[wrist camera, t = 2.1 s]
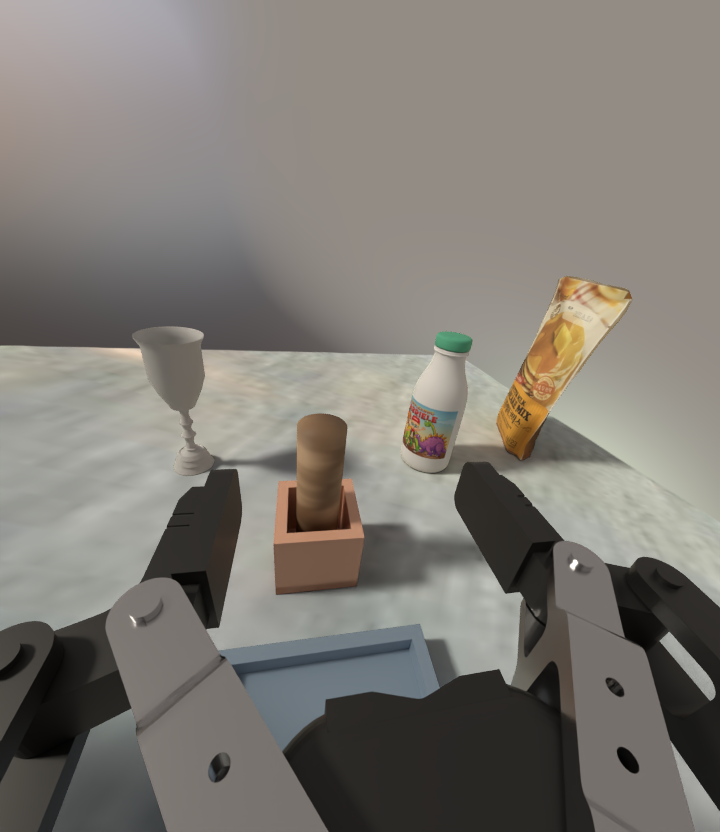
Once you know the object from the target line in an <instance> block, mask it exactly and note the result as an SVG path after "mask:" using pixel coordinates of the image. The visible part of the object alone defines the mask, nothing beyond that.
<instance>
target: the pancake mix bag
mask: <svg viewBox="0 0 720 832" xmlns="http://www.w3.org/2000/svg"><path fill="white" fill-rule="evenodd" d="M631 301H632V298H631V295H630V292H629V290H627V289H625V288H622V287H616V286H611V285H605V284H601V283H598V282H596V281H592V280H588V279H583V278H578V277H570V276H566V277H564V278H561V279H559V280H558V285H557V288H556V291H555V294H554V296H553V299H552V301H551V303H550V305H549V308H548V310H547V312H546V314H545V317H544V319H543V321H542V324H541V326H540V328H539V330H538V332H537V335H536V337H535V340H534V342H533V343H532V345H531V347H530V349H529V351H528V353H527V356H526V359H525V360H524V362H523V364H522V366H521V368H520V371H519V373H518V375H517V377H516V379H515V381H514V383H513V385H512V387H511V389H510V391H509V393H508V395H507V397H506V399H505V401H504V404H503V405H502V407H501V409H500V411H499V414H498V417H497V426H498V429H499V432H500V434H501V437H502V440H503V443H504V446H505V448H506V450H507V452H509V453H512V454H514V455H516V456H517V457H518V458H519V459H520V460H524V459H526V458H528V457H530V455H531V452H532V450H533V448H534V445H535V441H536V439H537V437H538V435H539V432H540V430H541V427H542V426H543V424H544V422H545V420H546V418H547V416H548V414H549V412H550V410H551V409H552V408H553V406H554V405H555V403H556V402H557V400H558V399H559V398H560V396H561V395H562V393H563V392H564V391H565V389H566V388H567V387H568V385H569V384H570V382H571V380H572V379H573V378H574V377H575V376H576V375H577V373H578V372H579V371H580V370H581V368H582V367H583V366H584V364H585V362H586V361H587V360H588V358H589V357H590V356H591V354H592V353H593V352H594V350H595V349H596V348H597V346H598V345H599V344H600V342H601V341H602V340H603V339H604V338H605V337H606V335H607V334H608V333H609V332H610V331H611V330H612V329H613V328H614V326H615V325H616V324H617V323H618V322H619V321H620V319H621V318H622V317H623V315H624V314H625V312H626V311H627V309H628V307H629V305H630V303H631Z"/></svg>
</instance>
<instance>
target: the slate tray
mask: <svg viewBox="0 0 720 832" xmlns="http://www.w3.org/2000/svg"><path fill="white" fill-rule="evenodd" d="M218 652H219V653H220V654H221V656H225V657H226V658H227V660H228V661H229V662H230V664H231V665H232V667H233V669H234V670H235V672H236V674H237V675H238V677H239V679H240V681H241V682H242V684H243V686H244V688H245V689H246V691H247V693H248V694H249V696H250V698H251V700H252V701H253V703H254V705H255V706H256V708H257V710H258V712H259V713H260V715H261V717H262V718H263V720H264V722H265V724H266V725H267V727H268V729H269V730H270V732H271V734H272V736H273V737H274V739H275V741H276V742H277V744H278V746H279V748H280V749H281V751H283V750H284V748H285V747H286V746H287V745H288V743H289V742H290V741H291V740H292V739H293V738H294V737H295V736H296V735H297V734H298V733H299V732H300V731H301V730H302V729H303V728H304V727H305V726H307V725H308V724H309V723H310V722H312V721H313V720H315V719H316V718H318V717H320V716H322V715H323V714H324V712H325V701H326V699H331V698H337V697H343V696H348V695H354V694H360V693H366V692H371V691H373V692H379V693H385V694H391V695H397V696H404V697H410V698H416V699H421V698H424V697H426V696H428V695H429V694H431V693H433V692H434V691H436V690H438V689H439V688H440V687H439V684H438V681H437V677H436V674H435V671H434V668H433V664H432V661H431V658H430V655H429V652H428V648H427V645H426V642H425V639H424V636H423V632H422V629H421V626H420V624H416V625H408V626H401V627H393V628H385V629H378V630H370V631H363V632H355V633H348V634H340V635H333V636H325V637H318V638H310V639H303V640H295V641H287V642H280V643H272V644H265V645H257V646H250V647H242V648H235V649H227V650H220V651H218Z"/></svg>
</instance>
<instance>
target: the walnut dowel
mask: <svg viewBox="0 0 720 832" xmlns="http://www.w3.org/2000/svg"><path fill="white" fill-rule="evenodd" d="M346 436H347V424H346V423H345V421H343V420H342V419H341V418H339V417H336V416H334V415H330V414H312V415H308V416H305V417H303V418H302V419H301V420H300V421H299V422H298V424H297V505H296V533H298V532H313V531H329V530H337V525H338V515H339V505H340V495H341V485H342V476H343V466H344V456H345V446H346Z"/></svg>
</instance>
